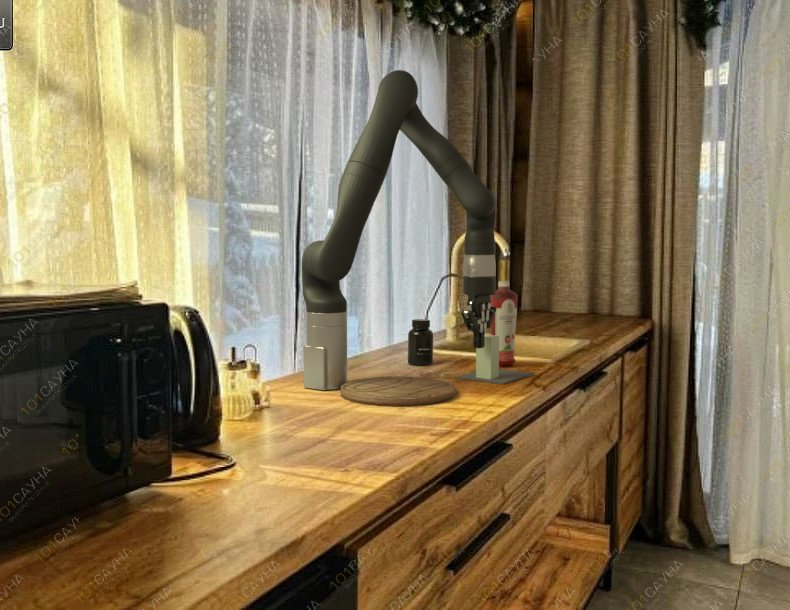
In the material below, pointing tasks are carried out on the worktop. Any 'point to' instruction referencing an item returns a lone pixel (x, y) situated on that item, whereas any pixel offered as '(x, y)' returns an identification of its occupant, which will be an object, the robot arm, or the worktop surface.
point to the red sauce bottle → (504, 316)
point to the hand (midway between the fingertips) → (478, 347)
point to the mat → (503, 378)
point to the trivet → (398, 391)
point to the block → (488, 358)
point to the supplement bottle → (420, 343)
